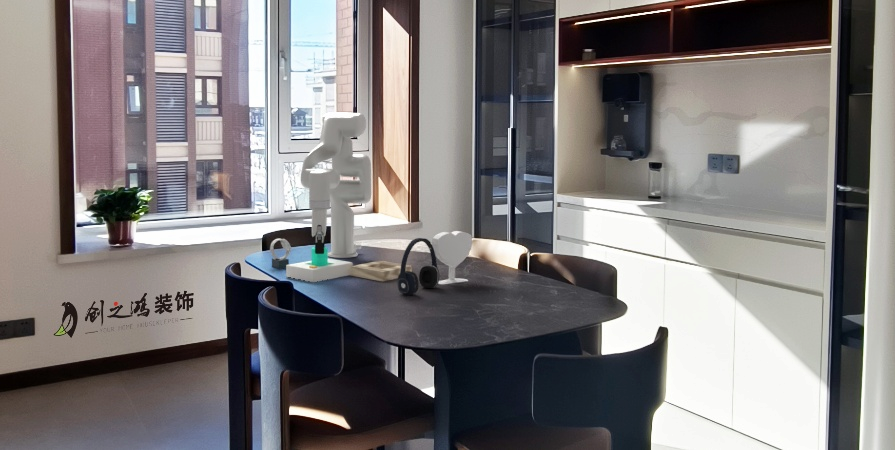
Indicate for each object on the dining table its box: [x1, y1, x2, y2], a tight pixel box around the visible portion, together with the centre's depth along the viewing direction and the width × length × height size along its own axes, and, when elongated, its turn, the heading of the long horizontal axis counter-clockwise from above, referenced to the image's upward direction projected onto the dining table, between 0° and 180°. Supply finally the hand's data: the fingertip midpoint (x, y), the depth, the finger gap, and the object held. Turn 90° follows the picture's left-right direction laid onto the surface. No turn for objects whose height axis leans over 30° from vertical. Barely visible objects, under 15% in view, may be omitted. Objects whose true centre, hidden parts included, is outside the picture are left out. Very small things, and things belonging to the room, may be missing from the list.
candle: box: [311, 246, 329, 267], centre depth 320 cm, size 6×6×12 cm
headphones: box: [397, 237, 440, 296], centre depth 296 cm, size 20×7×18 cm, turn 149°
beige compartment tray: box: [350, 260, 413, 282], centre depth 323 cm, size 16×16×4 cm
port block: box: [285, 258, 354, 283], centre depth 320 cm, size 20×14×5 cm
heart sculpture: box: [431, 230, 473, 285], centre depth 313 cm, size 16×5×18 cm, turn 127°
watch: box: [269, 238, 292, 269], centre depth 336 cm, size 6×8×11 cm
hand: (319, 251), depth 320 cm, fingers open, 9 cm apart
